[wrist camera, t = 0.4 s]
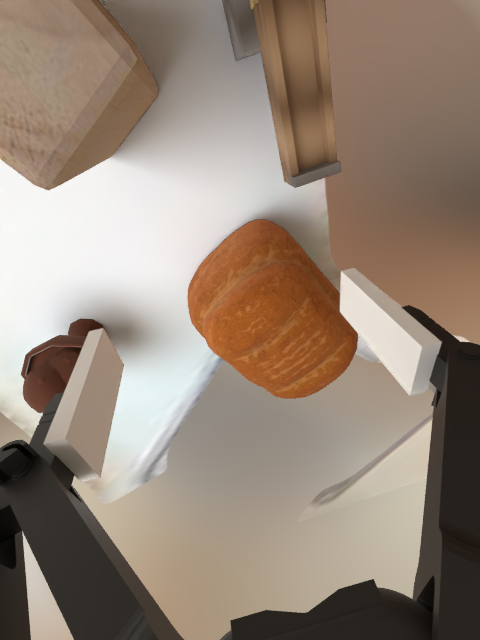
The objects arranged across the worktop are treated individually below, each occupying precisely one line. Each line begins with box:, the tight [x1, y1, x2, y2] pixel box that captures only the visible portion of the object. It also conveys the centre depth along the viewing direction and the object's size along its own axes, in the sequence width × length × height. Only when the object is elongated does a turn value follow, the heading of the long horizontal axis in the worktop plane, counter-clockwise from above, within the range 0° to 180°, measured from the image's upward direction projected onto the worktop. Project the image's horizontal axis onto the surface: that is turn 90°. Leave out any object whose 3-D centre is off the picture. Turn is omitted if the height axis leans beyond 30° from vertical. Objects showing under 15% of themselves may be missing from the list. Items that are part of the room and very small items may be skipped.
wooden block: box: [0, 0, 159, 190], centre depth 23 cm, size 10×10×20 cm
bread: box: [188, 220, 358, 399], centre depth 41 cm, size 18×21×17 cm
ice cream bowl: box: [21, 319, 107, 413], centre depth 41 cm, size 11×11×15 cm
